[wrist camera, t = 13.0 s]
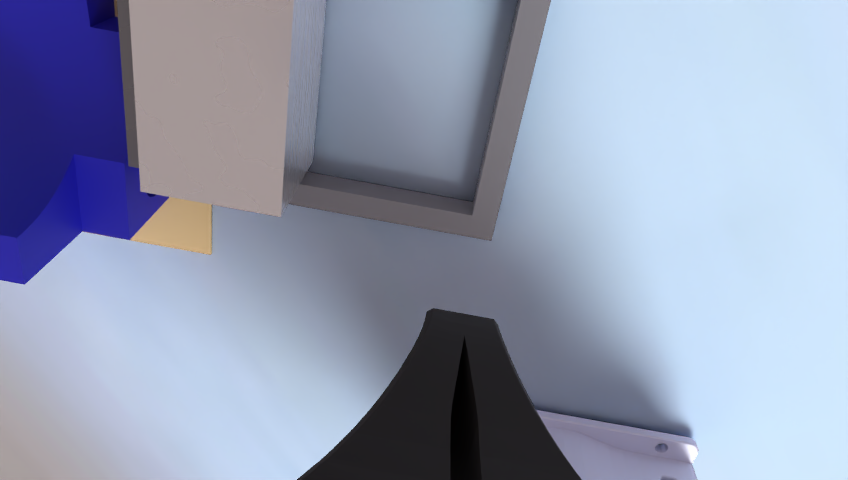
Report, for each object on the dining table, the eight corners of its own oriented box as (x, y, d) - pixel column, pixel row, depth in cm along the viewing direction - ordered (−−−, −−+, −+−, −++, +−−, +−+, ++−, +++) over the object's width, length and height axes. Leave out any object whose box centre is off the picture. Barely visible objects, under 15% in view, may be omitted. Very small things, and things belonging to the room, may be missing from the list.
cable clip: (169, 197, 23) (79, 294, 18) (42, 173, 23) (-84, 264, 18) (156, -207, 17) (15, -234, 12) (-15, -240, 17) (-229, -281, 12)
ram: (328, -29, 19) (294, -4, 16) (313, 161, 22) (280, 217, 19) (171, -58, 19) (101, -39, 16) (176, 136, 22) (119, 187, 19)
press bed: (587, -169, 17) (592, -171, 16) (472, 300, 25) (472, 317, 24) (-61, -291, 17) (-90, -299, 16) (23, 219, 25) (6, 232, 24)
